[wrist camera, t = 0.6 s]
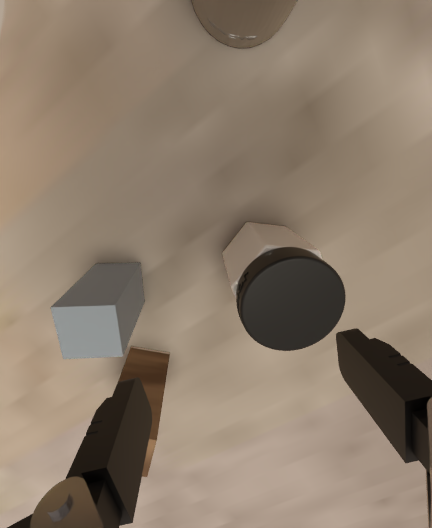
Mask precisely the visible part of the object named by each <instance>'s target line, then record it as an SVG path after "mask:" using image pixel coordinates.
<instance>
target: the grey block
mask: <svg viewBox="0 0 432 528" xmlns="http://www.w3.org/2000/svg"><path fill="white" fill-rule="evenodd" d="M144 302H145V300H144V291H143V282H142V272H141V263H103V264H95V265H94V266H93V267H92V268H91V269H90V270H89V271H88V272H87V273H86V274H85V275H84V276H83V277H82V278H80V279H79V280H78V281H77V282H76V283H75V284H74V285H73V286H72V287H71V288H70V289H69V290H68V291H67V292H66V293H65V294H64V295H63V296H62V297H61V298H60V299H59V300H58V301H57V302H56V303H55V304H54V305H53V306H51V311H52V315H53V319H54V323H55V327H56V331H57V335H58V340H59V344H60V348H61V352H62V356H63V359H77V358H100V357H123V355H124V353H125V350H126V347H127V345H128V342H129V340H130V337H131V335H132V332H133V330H134V327H135V325H136V322H137V320H138V317H139V314H140V312H141V309H142V307H143V304H144Z"/></svg>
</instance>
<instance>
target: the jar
mask: <svg viewBox="0 0 432 528" xmlns="http://www.w3.org/2000/svg"><path fill="white" fill-rule="evenodd" d="M222 256H223V259H224V263H225V267H226V271H227V275H228V278H229V282H230V286H231V289H232V291H233V294H234V296H235V298H236V302H237V309H238V313H239V317H240V319H241V322H242V324H243V326H244V328H245V329H246V331H247V332H248V334H249V335H250V336H251V337H252V338H253V339H254V340H255V341H257V342H258V343H259V344H261V345H263V346H265V347H268V348H271V349H275V350H282V351H291V350H298V349H302V348H305V347H308V346H311V345H313V344H315V343H317V342H318V341H320V340H321V339H323V338H324V337H325V336H327V335H328V334H329V333H330V332H331V331H332V330H333V328H334V327H335V326H336V324H337V323H338V321H339V320H340V318H341V315H342V313H343V310H344V306H345V289H344V285H343V282H342V280H341V278H340V276H339V275H338V273H337V272H336V271H335V270H334V269H333V268H332V267H331V266H330V265H328V264H327V263H326V262H325V261H323V259H322V255H321V252H320V251H319V250H318V249H317V248H315V247H314V246H312V245H311V244H310V243H308V242H307V241H305V240H304V239H303V238H301V237H300V236H298V235H297V234H296V233H294V232H293V231H291V230H290V229H288V228H287V227H286V226H278V225H269V224H260V223H252V222H246V223H245V225H244V226H243V227H242V228H241V230H240V231H239V232H238V234H237V235H236V236H235V237H234V239H233V240H232V241H231V242H230V244H229V245H228V246H227V247H226V249H225V250H224V251H223V253H222Z"/></svg>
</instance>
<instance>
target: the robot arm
mask: <svg viewBox="0 0 432 528" xmlns="http://www.w3.org/2000/svg"><path fill="white" fill-rule="evenodd" d="M191 1H192V4H193V7H194V10H195V12H196V14H197V16H198V18H199V20H200V22H201V24H202V25H203V26H204V27H205V29H206V30H207V31H208V32H209V33H210V34H211V35H212V36H213V37H214V38H216V39H217V40H218V41H220V42H222V43H224V44H226V45H228V46H232V47H237V48H248V47H253V46H256V45H259V44H261V43H263V42H265V41H266V40H268V39H270V38H271V37H272V36H273V35H274V34H275V33H276V32H277V31H278V30H279V29H280V27H281V26H282V25H283V23H284V22H285V20H286V19H287V17H288V16H289V14H290V12H291V11H292V9H293V7H294V6H295V4H296V2H297V1H298V0H191ZM336 341H337V351H338V361H339V368H340V371H341V374H342V376H343V378H344V380H345V382H346V383H347V384H348V386H349V387H350V388H351V390H352V391H353V392H354V394H355V395H356V397H357V398H358V399H359V401H360V402H361V403H362V405H363V406H364V407H365V409H366V410H367V411H368V413H369V414H370V416H371V417H372V418H373V420H374V421H375V422H376V424H377V425H378V426H379V428H380V429H381V430H382V432H383V433H384V435H385V436H386V437H387V439H388V440H389V441H390V443H391V444H392V445H393V447H394V448H395V449H396V451H397V452H398V454H399V455H400V456H401V458H402V459H403V460H404V462H405V463H409V462H414V461H418V460H419V461H420V462H421V463H422V465H423V466H424V467H425V469H426V488H427V509H428V528H432V380H431V379H429V378H428V377H427V376H426V375H425V374H424V373H422V372H421V371H420V370H419V369H418V368H416V367H415V366H414V365H413V364H410V362H409V361H408V360H407V359H406V358H405V357H404V356H401V355H400V353H399V352H398V351H396V350H395V349H394V348H393V347H392V346H391V345H389V344H387V343H385V342H383V341H380V340H378V339H376V338H373V339H369V338H367V337H366V336H365V335H364V334H363V333H362V332H361V331H360V330H359V329H351V330H347V331H342V332H338V333H337V334H336ZM151 426H152V410H151V406H150V404H149V401H148V398H147V395H146V393H145V390H144V387H143V385H142V382H141V380H140V378H138V377H137V378H132V379H128V380H124V381H119V382H118V384H117V386H116V389H115V391H114V393H113V396H112V397H110V398H106V400H105V401H104V402H103V403H102V404H101V406H100V407H99V408H98V409H97V410H96V413H95V415H94V417H93V419H92V421H91V425H90V426H89V428H88V430H87V432H86V436H85V437H84V439H83V441H82V444H81V446H80V448H79V450H78V452H77V455H76V457H75V459H74V461H73V463H72V466H71V468H70V470H69V472H68V474H67V477H66V479H65V480H63V481H61V482H59V483H58V484H56V485H55V486H54V487H53V488H51V489H50V490H49V491H48V492H47V493H46V494H45V496H44V497H43V498H42V499H41V501H40V502H39V503H38V505H37V507H36V508H35V510H34V513H33V514H31V515H30V516H28V517H26V518H24V519H22V520H20V521H19V522H17V523H15V524H13V525H11V526H9V527H7V528H119V526H120V525H125V524H129V523H133V518H134V513H135V508H136V503H137V498H138V493H139V487H140V482H141V477H142V472H143V467H144V462H145V457H146V452H147V447H148V442H149V437H150V432H151Z"/></svg>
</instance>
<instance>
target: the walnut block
mask: <svg viewBox="0 0 432 528" xmlns="http://www.w3.org/2000/svg"><path fill="white" fill-rule="evenodd" d="M169 355H170V353H169V352H163V351H157V350H151V349H146V348H140V347H134V346H131V348H130V351H129V354H128V357H127V359H126V362H125V365H124V367H123V370H122V373H121V376H120V378H119V381H124V380H128V379H132V378H137V377H138V378H140V380H141V382H142V385H143V387H144V390H145V393H146V395H147V398H148V401H149V404H150V406H151V410H152V426H151V432H150V437H149V442H148V447H147V452H146V457H145V462H144V467H143V472H142V476H143V477H147V475H148V471H149V468H150V464H151V460H152V456H153V452H154V448H155V445H156V441H157V435H158V428H159V421H160V415H161V408H162V401H163V395H164V388H165V382H166V375H167V368H168V362H169ZM119 381H118V382H119Z"/></svg>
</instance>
